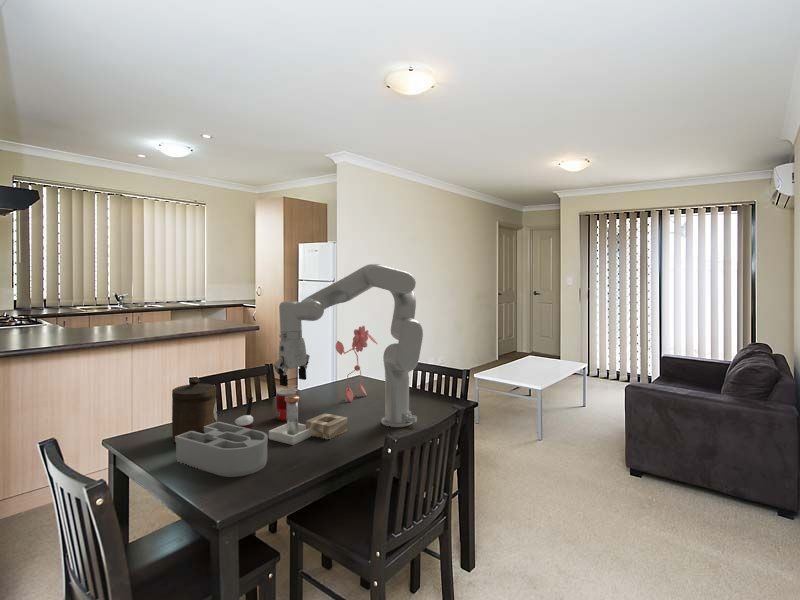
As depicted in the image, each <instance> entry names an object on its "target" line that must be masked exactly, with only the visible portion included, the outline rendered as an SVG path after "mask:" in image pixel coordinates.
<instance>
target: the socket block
mask: <svg viewBox="0 0 800 600" xmlns="http://www.w3.org/2000/svg"><path fill="white" fill-rule="evenodd" d="M305 425H306V430H307V429H309V428H313V436H312V437H315V436H316V438H319V437H321V438H320V439H324V438H325V440H328V439H330V440H332V439H334V438H336V437H338V436H339V435H342V434H344V433H346V432H347V431H348V425H349V423H348V417H347V416H346V417H345V416H342V415H341V416H340V415H336V414H330V413H326V412H325V413H322V414H320V415H317V416H315V417H313V418H310V419H307V420H305ZM337 435H338V436H337ZM335 436H336V437H335ZM333 437H334V438H333ZM331 438H332V439H331Z"/></svg>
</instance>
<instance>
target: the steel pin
mask: <svg viewBox="0 0 800 600" xmlns="http://www.w3.org/2000/svg"><path fill="white" fill-rule="evenodd" d="M300 397H301V396H300V395H298V394H296V395H288V396H285V401H286V402H287V421H286V424H287V434H289V435H295V434H298V423H299V401H300Z"/></svg>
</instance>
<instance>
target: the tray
mask: <svg viewBox="0 0 800 600" xmlns="http://www.w3.org/2000/svg"><path fill="white" fill-rule="evenodd" d="M311 436H312V437H314V436H313V428H309V429H307V430H306V424H303V423H300V422H298V434H295V435H289V434H287V423H285V424H282V425H279V426H277V427H275V428H272V429H269V430H268V439H269V440H271V441H275V442H280V443H283V444H286V445H287V444H288V445H292V446H295V445H296V444H299V443H300V442H303V441H304V440H307V439H309V438H312V437H311Z"/></svg>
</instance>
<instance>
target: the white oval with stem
mask: <svg viewBox="0 0 800 600" xmlns="http://www.w3.org/2000/svg"><path fill="white" fill-rule="evenodd" d="M253 400H254V397H253V396H249V397H248V402H247V406H246V407H247V409H246V414H245V415H240V416H239V417H238V418H236V419H235V421H234V425H236V426H240V427H244V428H249V429H253V427H254V425H253V424H254V417H253V416H252V414H251V411H252V405H253V402H254V401H253Z"/></svg>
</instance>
